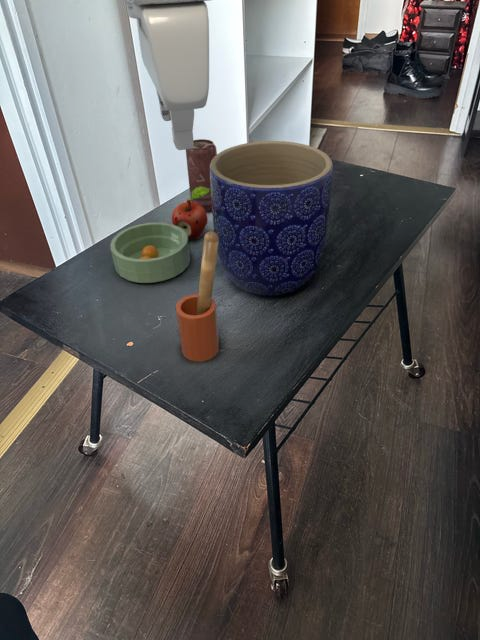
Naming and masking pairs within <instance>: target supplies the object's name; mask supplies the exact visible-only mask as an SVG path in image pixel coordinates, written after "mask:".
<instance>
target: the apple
mask: <svg viewBox="0 0 480 640" xmlns="http://www.w3.org/2000/svg"><path fill="white" fill-rule="evenodd" d="M209 190H210V189H209V188H205V187H201V186H200V187H196V188H195V189H194V190H193V191H192V195H191V198H187V199H186V201H185V202H184V201H183V202H181V203H179V204H178V205H177V206H176V207H175V208H174V209H173V211H172V214H171V222H172V223H171V224H173V225H175V226H178V227H180V228H182V229H183V230H184V231H185V232H186V234H187V236H188V240H198V239H200V238H201V236H202V235H203V232H204V230H205V229H206V226H207V224H208V214H207V213H206V211H205V209H204V207H203V206H202V205H200V204H199V203H197V202H191V200H192V199H195V198H200V197H203V196H204V195H206V194H207V193H209Z"/></svg>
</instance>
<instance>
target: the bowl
mask: <svg viewBox="0 0 480 640" xmlns="http://www.w3.org/2000/svg"><path fill="white" fill-rule="evenodd" d="M109 245H110V252H111V257H112V261H113V266H114V270H115V271H116V273H117V274H118V275H119V276H120V277H121V278H123V279H125V280H126V281H129V282H133V283H140V284H152V283H158V282H164V281H167V280H170V279H173V278H175V277H176V276H178V275H180V274H181V273H183V272H184V271H185V270H186V269H187V268H188V267H189V265H190V262H191V253H190V244H189V239H188V236H187V234H186V232H185V231H184V230H183V229H182V228H180V227H178V226H175V225H173V223H169V222H168V223H167V222H145V223H140V224H136V225H132V226H129V227H127V228H125V229H122V230H121V231H119V232H118V233H117V234H116V235H115V236H114V237H112V240H111V241H110V244H109ZM148 245H152V246H154V247H156V248H157V250H158V257H157V258H151V259H140V258H141V257H142V250H143V248H144V247H145V246H148Z"/></svg>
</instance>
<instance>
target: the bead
mask: <svg viewBox="0 0 480 640" xmlns="http://www.w3.org/2000/svg"><path fill="white" fill-rule="evenodd" d="M143 256H149V257H151V258H157V257H158V250H157V248H156V247H154V246H152V245H148V246H145V247H144V248H143V250H142V257H143Z"/></svg>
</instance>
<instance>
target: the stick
mask: <svg viewBox="0 0 480 640" xmlns="http://www.w3.org/2000/svg"><path fill="white" fill-rule="evenodd" d="M218 242H219V236H218V234H217V233H216V232H214V230H211V231H210V230H209V231H208V232H206V233H205V234H204V237H203V247H202V255H201V264H200V274H199V284H198V293H197V294H198V302H197V312H196V315H201V314H203V313H206V312H207V311H208V310H209V309H210V306H211V298H212V299H213V289H214V281H215V275H216V265H217V257H218V253H217V250H218Z"/></svg>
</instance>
